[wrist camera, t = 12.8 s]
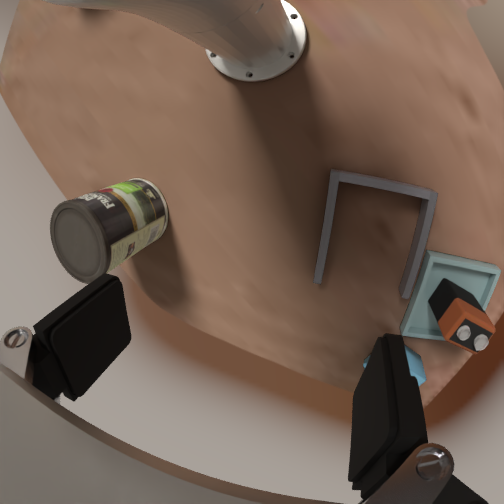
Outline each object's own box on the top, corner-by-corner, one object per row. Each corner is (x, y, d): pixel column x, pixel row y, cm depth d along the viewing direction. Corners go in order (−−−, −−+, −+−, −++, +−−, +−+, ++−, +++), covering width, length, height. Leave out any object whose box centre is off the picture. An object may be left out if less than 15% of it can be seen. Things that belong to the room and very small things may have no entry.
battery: (457, 317, 35) (478, 361, 26) (426, 300, 35) (444, 345, 27) (473, 293, 33) (500, 334, 24) (442, 275, 34) (468, 316, 25)
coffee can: (113, 175, 41) (45, 197, 29) (169, 180, 39) (101, 206, 27) (116, 237, 45) (56, 273, 33) (169, 248, 43) (111, 293, 31)
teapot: (348, 346, 42) (347, 381, 35) (375, 320, 39) (380, 355, 33) (398, 377, 42) (402, 411, 35) (424, 356, 39) (433, 389, 33)
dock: (331, 168, 33) (331, 170, 31) (431, 189, 31) (438, 193, 28) (314, 274, 39) (313, 282, 37) (405, 289, 36) (408, 299, 34)
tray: (426, 249, 34) (430, 255, 32) (495, 264, 31) (501, 270, 29) (399, 327, 38) (401, 335, 37) (465, 335, 36) (469, 342, 34)
